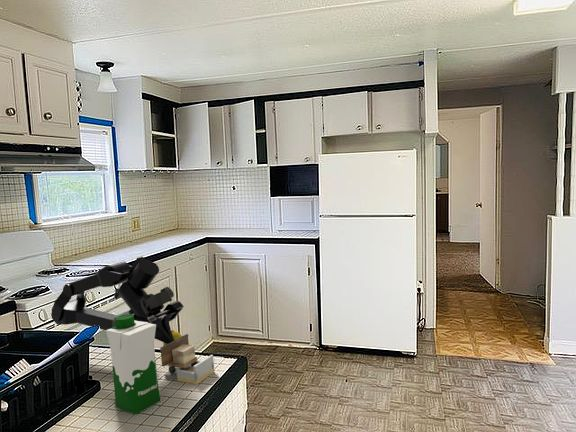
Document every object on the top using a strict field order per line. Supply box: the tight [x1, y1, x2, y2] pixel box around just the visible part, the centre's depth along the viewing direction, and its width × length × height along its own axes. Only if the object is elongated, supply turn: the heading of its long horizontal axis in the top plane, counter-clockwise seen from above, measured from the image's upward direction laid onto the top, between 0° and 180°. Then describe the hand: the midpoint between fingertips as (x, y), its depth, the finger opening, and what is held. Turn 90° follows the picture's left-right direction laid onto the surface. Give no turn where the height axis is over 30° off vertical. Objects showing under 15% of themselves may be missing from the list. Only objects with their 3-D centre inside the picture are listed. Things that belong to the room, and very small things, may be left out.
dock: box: [164, 354, 215, 385], centre depth 115 cm, size 10×7×4 cm
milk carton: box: [105, 314, 162, 416], centre depth 101 cm, size 9×9×20 cm
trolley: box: [159, 333, 198, 373], centre depth 116 cm, size 5×10×8 cm, turn 154°
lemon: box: [162, 329, 183, 346], centre depth 128 cm, size 6×6×8 cm
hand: (173, 344), depth 117 cm, fingers closed, pressing on trolley
